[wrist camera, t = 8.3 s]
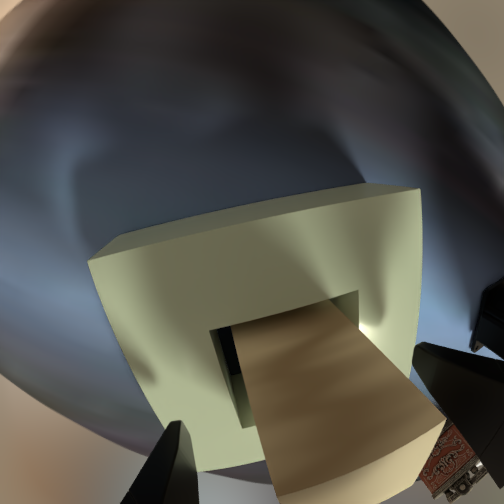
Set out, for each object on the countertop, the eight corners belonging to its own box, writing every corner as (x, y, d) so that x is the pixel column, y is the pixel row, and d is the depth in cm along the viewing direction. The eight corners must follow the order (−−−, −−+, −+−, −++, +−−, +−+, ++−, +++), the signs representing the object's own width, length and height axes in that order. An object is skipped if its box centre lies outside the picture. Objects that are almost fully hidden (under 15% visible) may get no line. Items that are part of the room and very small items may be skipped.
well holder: (366, 182, 13) (420, 188, 9) (370, 370, 17) (402, 406, 13) (118, 235, 12) (87, 261, 8) (192, 421, 15) (194, 472, 11)
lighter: (413, 462, 24) (448, 509, 15) (402, 462, 23) (439, 514, 14) (457, 418, 24) (499, 463, 14) (449, 416, 23) (496, 465, 13)
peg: (304, 275, 14) (447, 418, 4) (312, 340, 15) (412, 484, 5) (223, 296, 13) (276, 497, 4) (242, 361, 15) (294, 534, 5)
